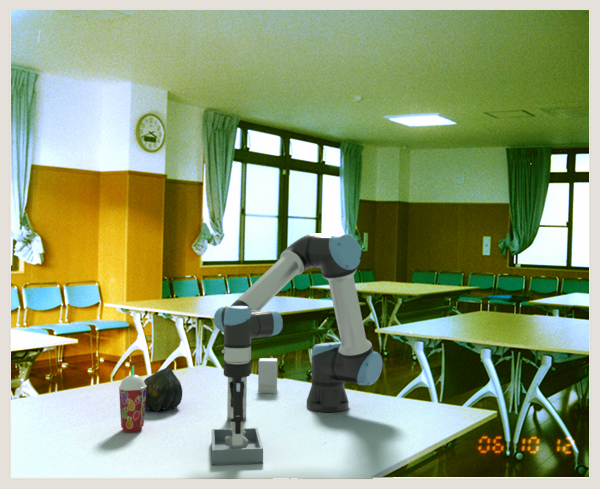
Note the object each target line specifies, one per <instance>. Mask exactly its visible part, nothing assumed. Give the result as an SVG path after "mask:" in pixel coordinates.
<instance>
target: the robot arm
mask: <svg viewBox="0 0 600 489" xmlns="http://www.w3.org/2000/svg"><path fill="white" fill-rule="evenodd" d="M361 250H362V249H361V246H360V245H359V242H358V240H357V239H356V238H355V237H354V236H353V235H351V234H350V233H342V232H331V233H330V232H329V233H328V232H325V233H323V232H322V233H320V232H319V233H317V232H315V233H314V232H313V233H308V234H306V235H304V236H302V237H300V238H298V239H297V240H295V241H294V242H293V243H291V244H290V245H288V247H286V248H285V249H284V250H283V251H282V252H281V254H280V255H279V259H278V260H277V261H276V262H274V264H273V265H271V266H270V267H269V269H267V270H266V271H265V272H264V273H263V275H261V276H260V277H259V278H258V279H257V280H256V281H255V282H254V283H253V284H252V285H251V286H249V288H248V289H246V291H245V292H243V293H242V294H241V295H240V296H239V297H238V298H237V299H236V300H235V301H234V302H233V303H232V304H230V306H228V305H226V306H221V307H219V308H218V309H217V310H216V311H215V312H214V316H213V322H214V326H215V327H216V329H218V330H220V331H221V332H223V349H222V350H221V354H224V355H223V360H224V363H223V376H224V377H225V378H228V377H231V378H232V382H230V393H231V400H230V402H231V407H233V408H231V421H230V428H229V429H230V431H233V434H232V446H236V445H243V428H244V427H243V426H244V424H243V423H244V421H243V420H244V418H243V397H244V381H242V378H243V377H247V378H248V377H250V376H251V373H252V372H251V371H252V370H251V369H252V368H251V367H252V366H251V365H252V364H251V362H250V361H251V360H252V339H258V338H266V337H267V338H269V337H273V336H276V335H278V334H279V333H281V331H282V330H283V326H284V324H283V323H284V322H283V317H282V315H281V313H280V312H278V310H273V309H271V310H270V309H267V310H263V308H264V307H266V305H267V304H269V302H271V300H272V299H273V298H274V297H275V296H276V295H277V294H278V293H279V292H280V291H281V290H282V289H284V288H285V287H286V285H287V284H288V283H290V282H291V281H292V279H293V278H294V277H295V276H297V275H302V274H303V273H304V272H305V271H306V270H309V269H312V268H313V269H314V268H316V269H320V271H321V276H322V278H324V279H325V280H327V281H328V285H329V292H330V296H331V300H332V305H333V309H334V310H333V311H334V315H335V320H336V324H337V329H338V333H339V338H340V341H336V342H335V341H334V342H333V341H332V342H322V343H317V344H314V345H313V346H312V350H311V386H310V389H309V391H308V395H307V399H306V408H307V410H308V409H309V410H311V411H315V412H321V413H322V412H323V413H338V412H344V411H347V410H348V409H349V398H348V395H347V392H346V389H345V383H346V382H347V383H349V384H350V383H351V384H356V385H359V386H372V385H373V384H375V383H376V382H377V381H378V380H379V377H380V375H381V373H382V369H383V358H382V355H381V353H379V352H378V351H375V350H374V348H373V344H372V342H371V341H370V340H368V339H367V337H366V336H367V335H366V332H365V326H364V321H363V316H362V312H361V306H360V302H359V297H358V293H357V288H356V287H357V286H356V282H355V277H354V276H355V273H356V272H357V271H358V268H357V267H358V266H359V265H360V263H361V259H360V258H361V256H362V251H361Z"/></svg>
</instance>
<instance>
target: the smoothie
mask: <svg viewBox="0 0 600 489" xmlns="http://www.w3.org/2000/svg"><path fill="white" fill-rule="evenodd" d="M144 380H145V379H143V377H142V376H140V375H138V374H135V365H132V366H131V374H129V375H127V376H125V377H124V378H123V380H121V382H120V385H119V386H118V390H119V410H120V411H119V413H120V426H121V428H122V431H123V432H124V433H127V432H128V434H129V433H130V434H131V433H133V432H134V433H137V432H138V433H139V432H140V431H142V429H143V427H144V424H145V411H146V409H145V399H146V387H147V385H145V382H144Z"/></svg>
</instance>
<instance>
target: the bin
mask: <svg viewBox="0 0 600 489" xmlns="http://www.w3.org/2000/svg"><path fill="white" fill-rule="evenodd" d="M243 430H244V431H245V432H246V433H244V434H245V435H244V437H246V438H247V440H248V445H247V447H246V448H240V449H232V448H231V446H226V445H225V443H226V441H225V437H227V436H231V437H232V432H233V431H230V428H212V429H211V463H212V464H211V465H212V466H231V465H237V466H238V465H260V464H262V465H263V464H264V447H263V444H262V443H263V442H262V439H261V435H260V432H259V429H258V427H243Z"/></svg>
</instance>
